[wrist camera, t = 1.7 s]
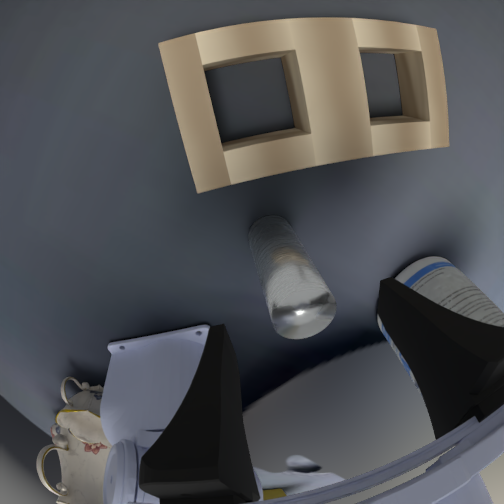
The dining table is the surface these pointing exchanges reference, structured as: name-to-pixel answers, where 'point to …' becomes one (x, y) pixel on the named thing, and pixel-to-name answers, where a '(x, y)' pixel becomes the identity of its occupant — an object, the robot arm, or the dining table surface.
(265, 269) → the peg
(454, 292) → the supplement tub
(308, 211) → the dining table surface
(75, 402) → the chinaware
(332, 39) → the hole block
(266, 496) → the flower pot
